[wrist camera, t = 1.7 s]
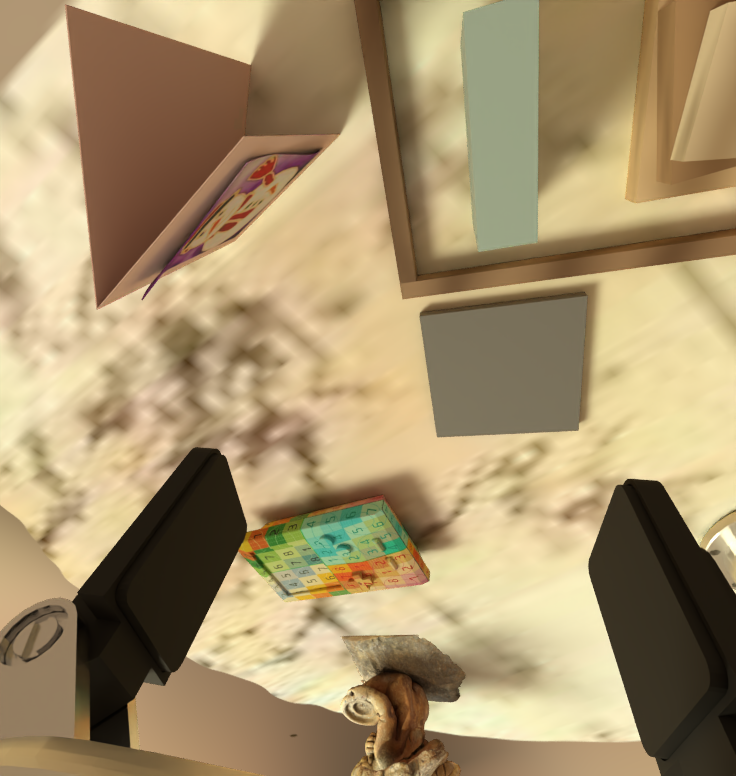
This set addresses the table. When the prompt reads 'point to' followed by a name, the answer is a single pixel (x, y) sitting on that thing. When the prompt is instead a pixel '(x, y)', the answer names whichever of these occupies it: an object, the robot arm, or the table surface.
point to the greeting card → (167, 152)
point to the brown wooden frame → (502, 272)
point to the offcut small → (711, 94)
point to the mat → (506, 366)
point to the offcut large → (645, 128)
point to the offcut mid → (680, 84)
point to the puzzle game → (336, 552)
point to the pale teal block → (502, 120)
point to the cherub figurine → (400, 703)
